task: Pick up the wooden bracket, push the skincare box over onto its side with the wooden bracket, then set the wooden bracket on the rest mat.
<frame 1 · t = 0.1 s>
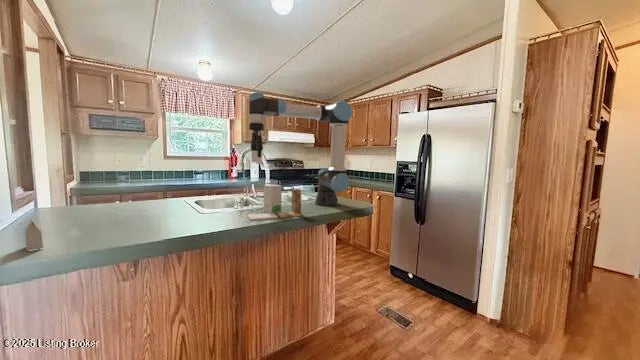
hand: (256, 162, 147), 28 cm above the countertop, tool pointing down, fingers open, 13 cm apart
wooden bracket: (296, 214, 151), on the countertop
skincare box: (272, 212, 154), on the countertop
tea bag: (34, 248, 93), on the countertop
rest mat: (262, 217, 142), on the countertop
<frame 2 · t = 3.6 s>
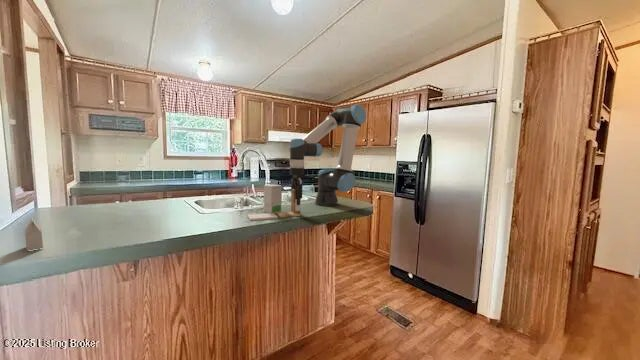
hand: (296, 209, 150), 3 cm above the countertop, tool pointing down, fingers closed on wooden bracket, 4 cm apart
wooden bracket: (295, 214, 151), on the countertop, touching gripper
everything else where it was.
when the fingers open (5 cm above the countertop, at t = 15.4 s): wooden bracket drops 2 cm, resting on rest mat.
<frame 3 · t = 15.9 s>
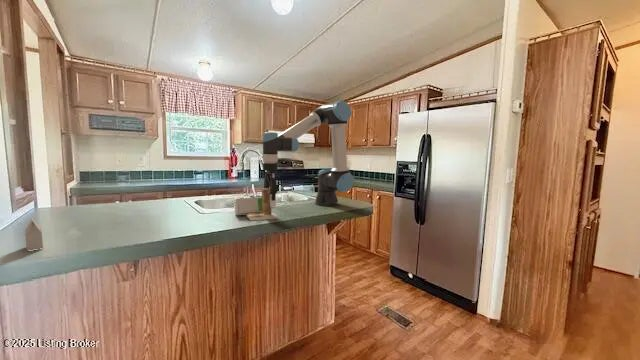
hand: (269, 204, 143), 7 cm above the countertop, tool pointing down, fingers open, 11 cm apart
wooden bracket: (266, 215, 143), point 1 cm above the countertop, touching rest mat
skincare box: (264, 204, 151), point 5 cm above the countertop, touching gripper
everything else where it was.
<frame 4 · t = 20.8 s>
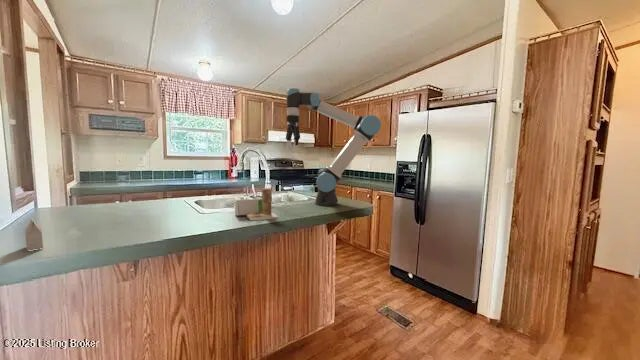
hand: (292, 151, 167), 35 cm above the countertop, tool pointing down, fingers open, 13 cm apart
skincare box: (265, 205, 151), point 5 cm above the countertop, touching rest mat
everything else where it was.
at the end: skincare box tilted 91°; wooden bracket inside the target area on the rest mat (1.2 cm from its centre), point 1.0 cm above the rest mat's base; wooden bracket tilted 0° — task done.
